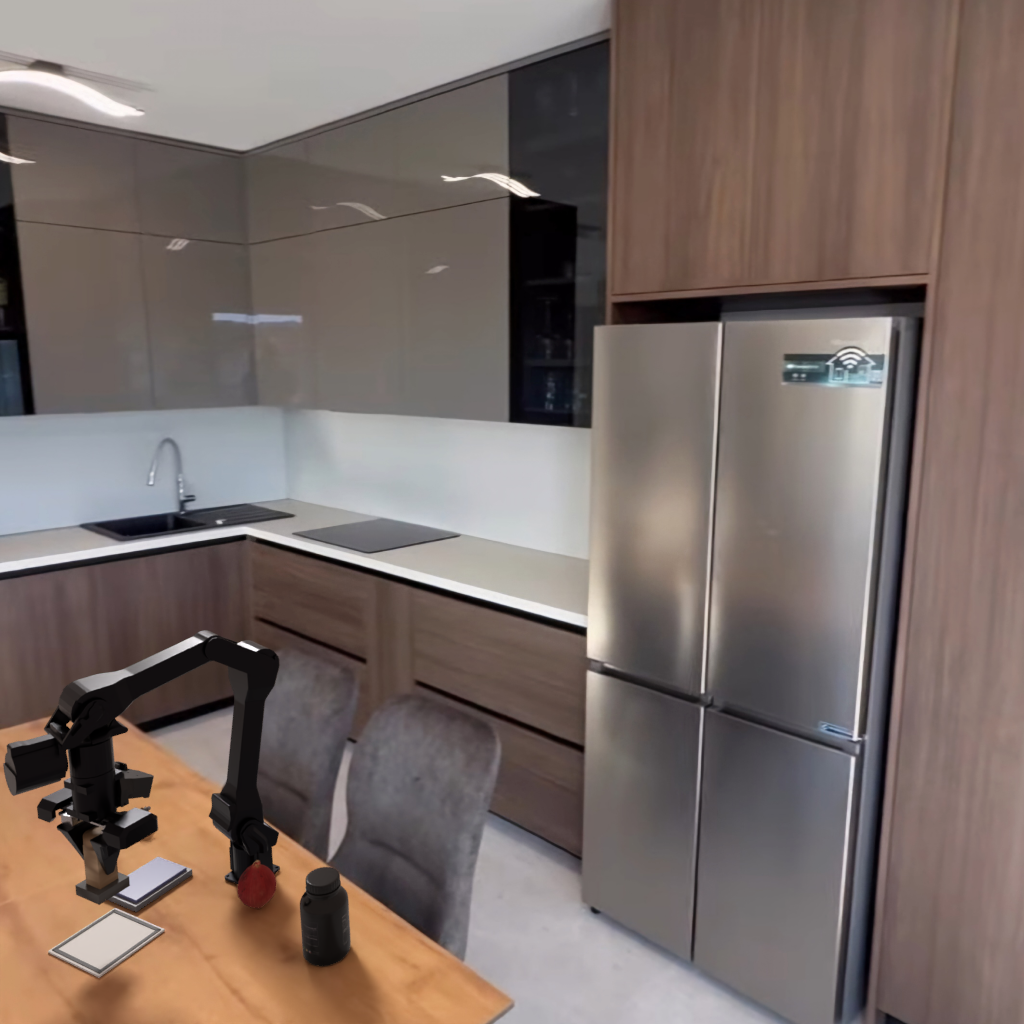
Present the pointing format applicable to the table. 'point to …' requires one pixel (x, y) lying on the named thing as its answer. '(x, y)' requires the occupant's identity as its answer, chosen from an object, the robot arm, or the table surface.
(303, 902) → the supplement bottle
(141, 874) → the ink pad
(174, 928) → the table surface
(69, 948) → the marked card
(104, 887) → the stamp
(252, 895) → the onion
